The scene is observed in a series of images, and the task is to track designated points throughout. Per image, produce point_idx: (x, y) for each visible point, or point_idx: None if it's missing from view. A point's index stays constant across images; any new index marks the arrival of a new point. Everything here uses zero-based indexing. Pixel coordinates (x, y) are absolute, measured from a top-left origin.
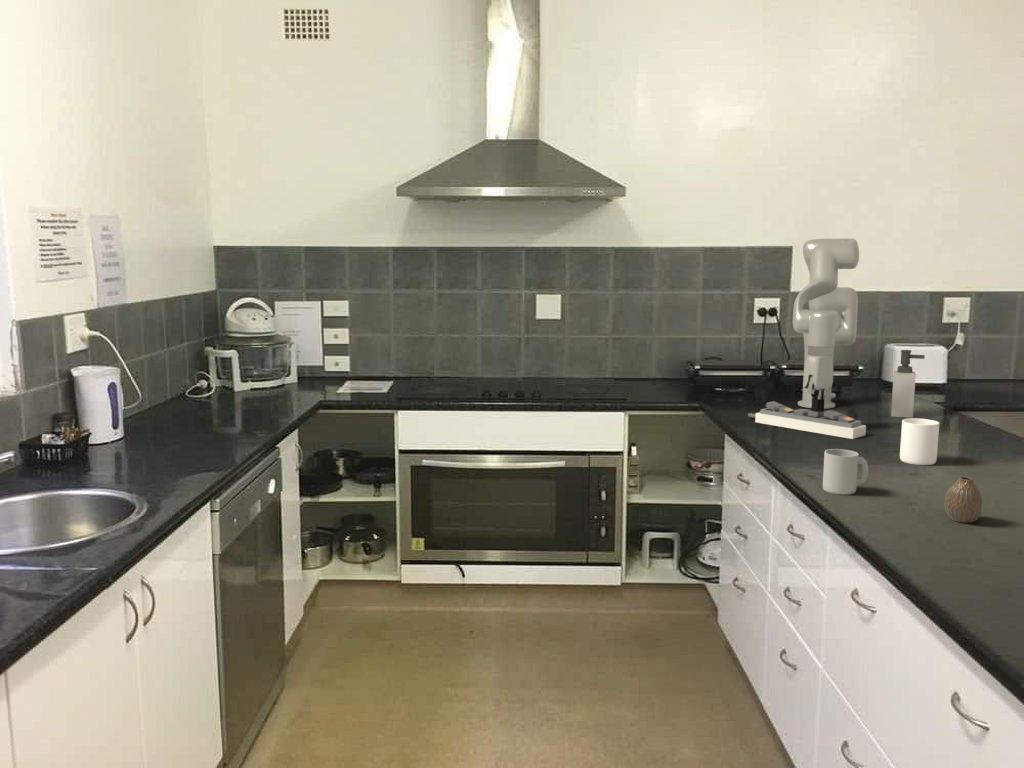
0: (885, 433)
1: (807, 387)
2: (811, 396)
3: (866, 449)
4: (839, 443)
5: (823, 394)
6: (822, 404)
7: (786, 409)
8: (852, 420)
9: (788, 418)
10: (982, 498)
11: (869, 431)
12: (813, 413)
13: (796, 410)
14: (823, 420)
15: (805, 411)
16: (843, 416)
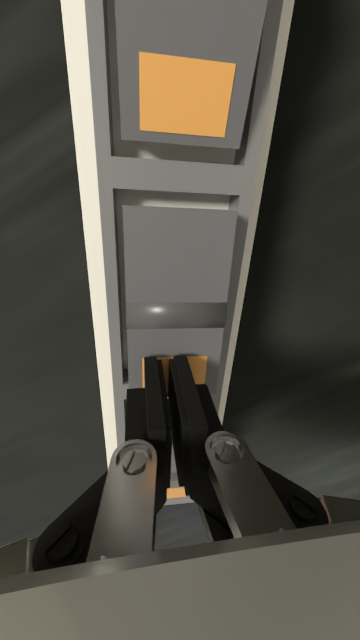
0: (272, 468)
1: (57, 586)
2: (109, 468)
3: (18, 533)
4: (13, 473)
5: (208, 532)
6: (174, 448)
7: (165, 83)
8: (168, 498)
9: (80, 180)
10: None
11: (274, 435)
12: (129, 368)
13: (132, 229)
14: (115, 409)
15: (126, 316)
16: (171, 483)
